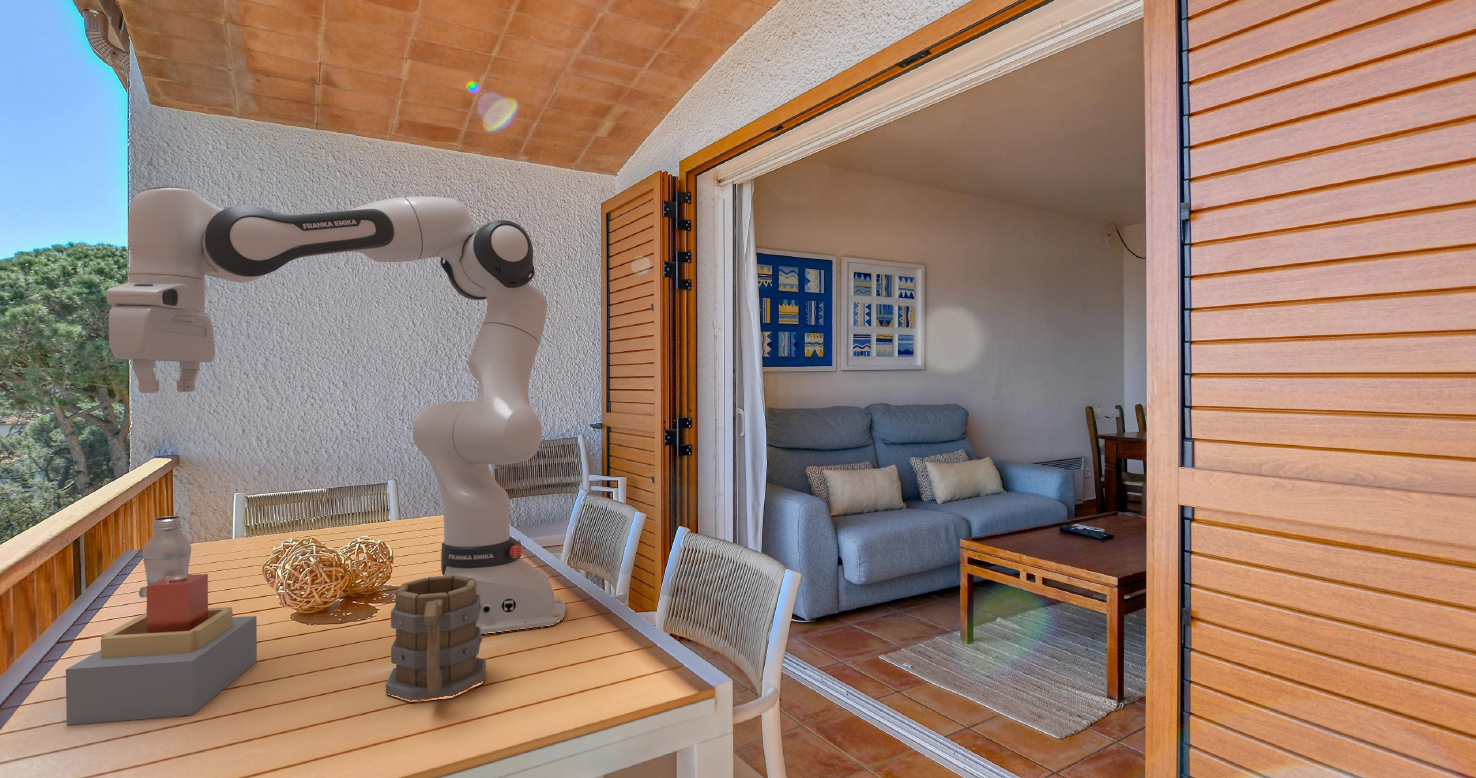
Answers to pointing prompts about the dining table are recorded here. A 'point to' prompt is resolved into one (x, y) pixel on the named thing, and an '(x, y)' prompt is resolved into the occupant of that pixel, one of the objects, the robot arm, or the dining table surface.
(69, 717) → the grey box
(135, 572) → the dining table surface
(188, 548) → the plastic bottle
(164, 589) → the red rectangular block
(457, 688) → the tankard
